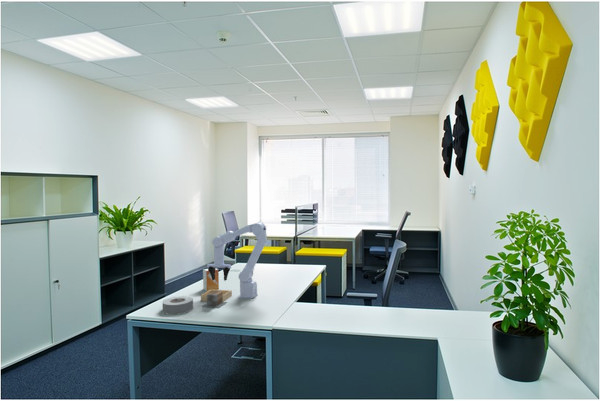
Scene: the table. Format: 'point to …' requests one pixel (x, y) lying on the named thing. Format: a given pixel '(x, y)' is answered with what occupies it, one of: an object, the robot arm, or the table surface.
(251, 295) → the robot arm
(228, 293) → the shallow wooden tray
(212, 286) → the small box
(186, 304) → the tape roll
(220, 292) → the box
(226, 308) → the table surface
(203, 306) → the panel
